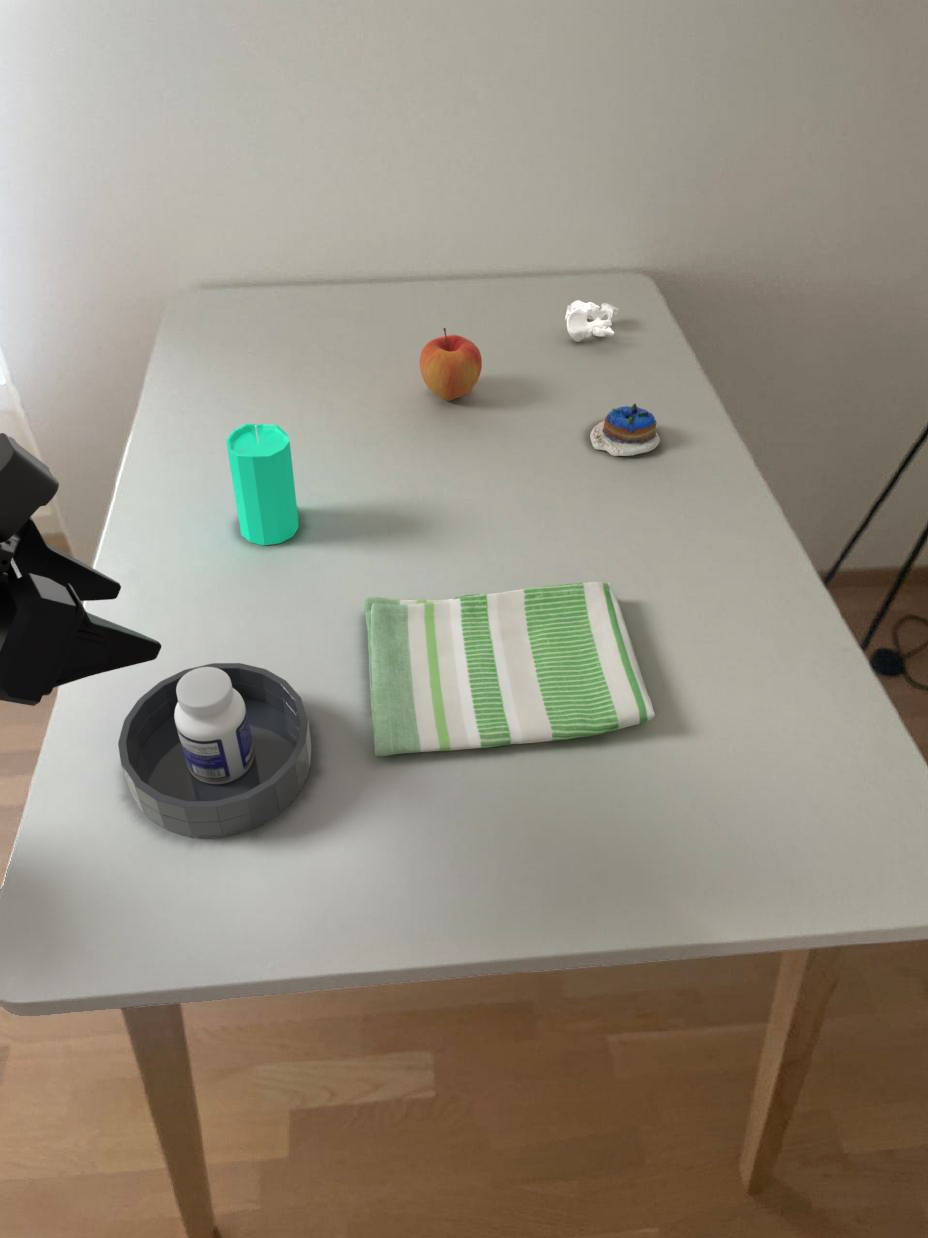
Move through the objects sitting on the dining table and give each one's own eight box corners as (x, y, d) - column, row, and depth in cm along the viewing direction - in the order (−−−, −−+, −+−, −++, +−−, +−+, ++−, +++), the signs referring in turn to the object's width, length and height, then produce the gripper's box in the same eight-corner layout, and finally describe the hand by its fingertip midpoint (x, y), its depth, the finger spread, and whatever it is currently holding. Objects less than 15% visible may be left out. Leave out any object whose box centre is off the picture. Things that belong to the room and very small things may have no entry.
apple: (444, 417, 115) (446, 356, 109) (407, 390, 119) (407, 330, 113) (492, 398, 118) (496, 337, 112) (454, 372, 122) (456, 312, 116)
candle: (294, 546, 97) (283, 445, 89) (234, 544, 97) (217, 442, 89) (302, 508, 101) (292, 409, 93) (245, 506, 101) (229, 406, 93)
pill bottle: (229, 723, 81) (214, 648, 74) (268, 760, 78) (255, 687, 72) (174, 758, 78) (153, 684, 72) (211, 798, 75) (193, 725, 69)
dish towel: (363, 609, 91) (362, 587, 89) (607, 593, 94) (611, 572, 92) (375, 762, 79) (374, 741, 77) (656, 739, 81) (662, 718, 79)
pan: (142, 861, 72) (131, 830, 69) (119, 718, 81) (109, 686, 78) (330, 808, 75) (327, 777, 73) (288, 678, 85) (284, 646, 82)
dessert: (660, 417, 115) (664, 397, 109) (657, 471, 114) (660, 453, 108) (592, 414, 116) (592, 393, 110) (588, 467, 115) (587, 449, 109)
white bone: (616, 323, 125) (565, 312, 125) (609, 353, 128) (559, 342, 128) (622, 295, 130) (573, 284, 130) (614, 323, 133) (567, 313, 134)
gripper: (-56, 473, 45) (238, 564, 55) (-98, 377, 59) (144, 464, 69) (-136, 681, 47) (162, 732, 57) (-159, 541, 61) (85, 602, 71)
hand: (137, 619), depth 64 cm, fingers open, 9 cm apart
